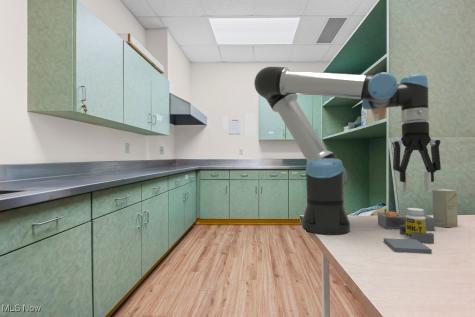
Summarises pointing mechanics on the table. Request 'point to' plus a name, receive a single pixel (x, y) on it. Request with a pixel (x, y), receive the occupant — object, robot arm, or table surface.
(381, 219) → the plunger block
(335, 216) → the robot arm
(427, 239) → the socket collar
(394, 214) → the plunger left
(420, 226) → the supplement bottle
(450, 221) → the skincare box
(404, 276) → the table surface
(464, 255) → the table surface
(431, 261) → the table surface
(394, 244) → the pad
